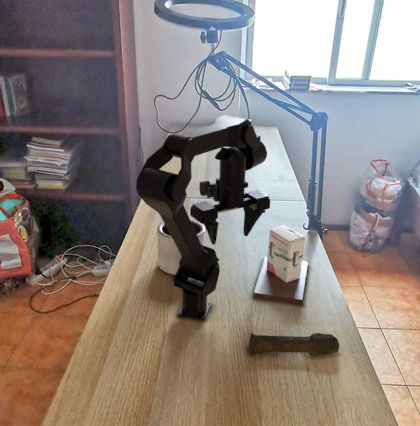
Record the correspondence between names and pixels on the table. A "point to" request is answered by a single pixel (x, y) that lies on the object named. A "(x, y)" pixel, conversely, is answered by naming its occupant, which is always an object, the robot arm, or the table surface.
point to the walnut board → (280, 286)
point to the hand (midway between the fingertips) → (229, 239)
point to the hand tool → (295, 344)
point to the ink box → (285, 253)
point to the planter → (173, 247)
